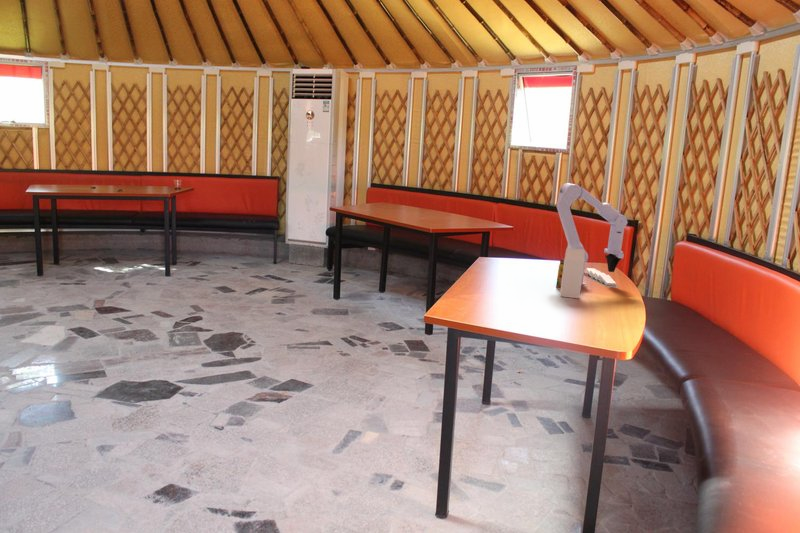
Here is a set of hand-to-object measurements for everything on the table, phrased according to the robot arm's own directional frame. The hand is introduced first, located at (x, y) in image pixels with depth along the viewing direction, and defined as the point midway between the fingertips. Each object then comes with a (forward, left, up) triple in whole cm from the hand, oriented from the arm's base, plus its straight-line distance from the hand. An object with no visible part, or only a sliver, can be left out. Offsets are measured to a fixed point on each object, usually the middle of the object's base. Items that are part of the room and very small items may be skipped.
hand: (611, 271), depth 281 cm
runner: (+3, +7, -6) cm, 10 cm away
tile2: (+1, +3, -5) cm, 6 cm away
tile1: (-1, -2, -5) cm, 6 cm away
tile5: (+7, +17, -5) cm, 19 cm away
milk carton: (-35, -12, -7) cm, 38 cm away
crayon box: (-26, 0, -7) cm, 27 cm away
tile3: (+3, +7, -5) cm, 10 cm away
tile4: (+5, +12, -5) cm, 14 cm away
